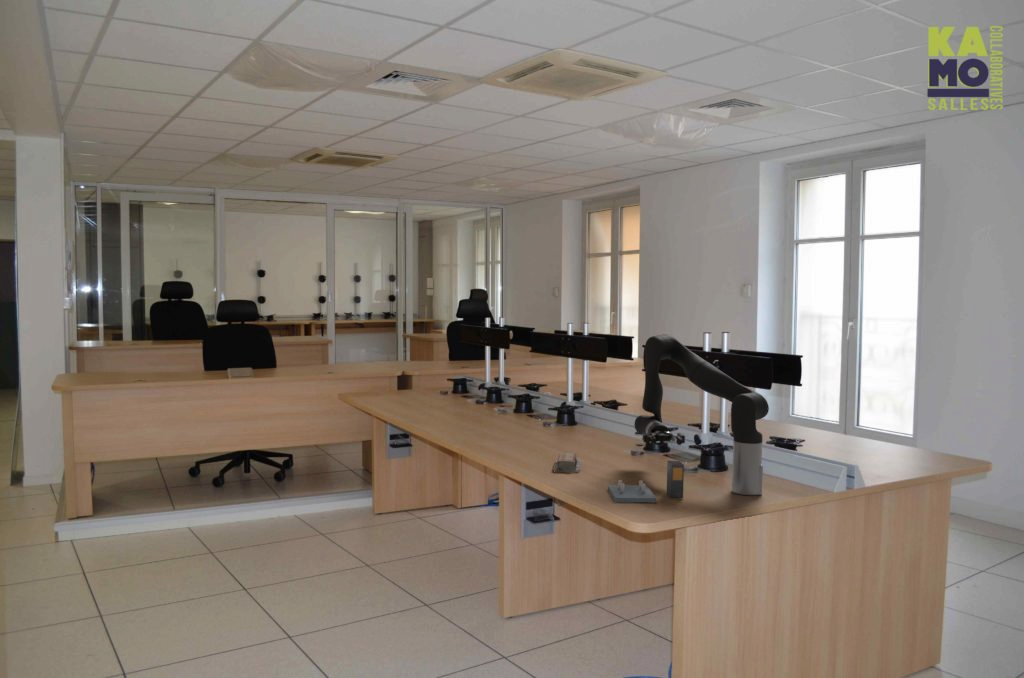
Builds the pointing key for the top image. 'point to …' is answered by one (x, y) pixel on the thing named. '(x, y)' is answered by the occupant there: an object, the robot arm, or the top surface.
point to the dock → (631, 492)
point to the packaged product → (567, 463)
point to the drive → (675, 479)
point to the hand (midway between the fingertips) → (667, 441)
